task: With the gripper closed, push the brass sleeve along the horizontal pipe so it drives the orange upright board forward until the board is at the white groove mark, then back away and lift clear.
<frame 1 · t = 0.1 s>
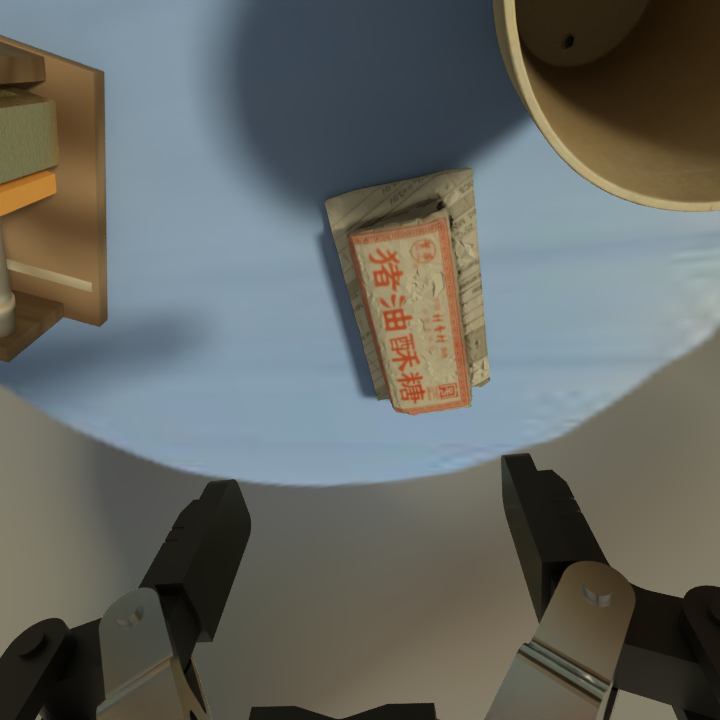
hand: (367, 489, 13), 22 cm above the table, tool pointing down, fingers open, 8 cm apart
pipe board: (39, 194, 31), on the table
packaged product: (415, 295, 35), on the table
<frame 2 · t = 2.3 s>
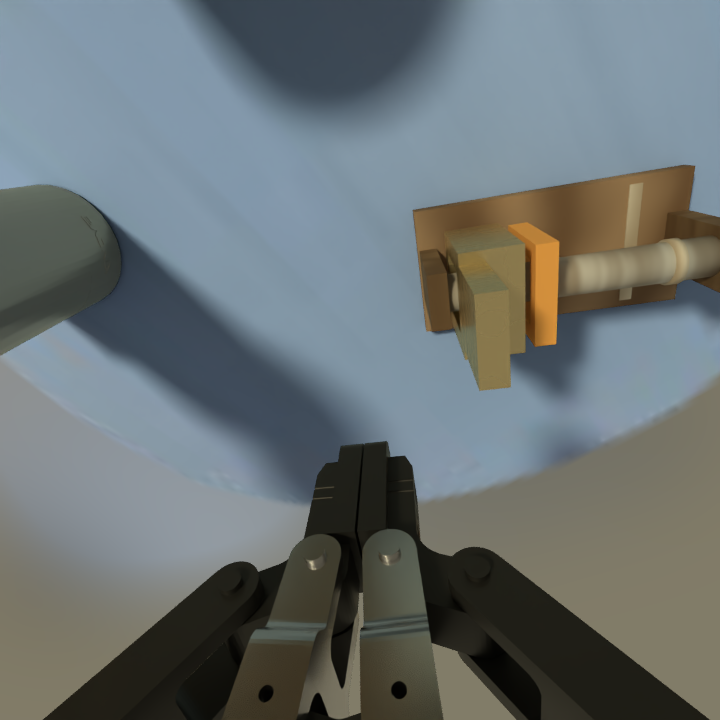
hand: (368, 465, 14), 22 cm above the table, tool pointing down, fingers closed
orange upright board: (530, 281, 27), point 6 cm above the table, slide at 0.0 cm
pipe board: (542, 253, 32), on the table
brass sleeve: (490, 300, 25), point 8 cm above the table, slide at 0.0 cm
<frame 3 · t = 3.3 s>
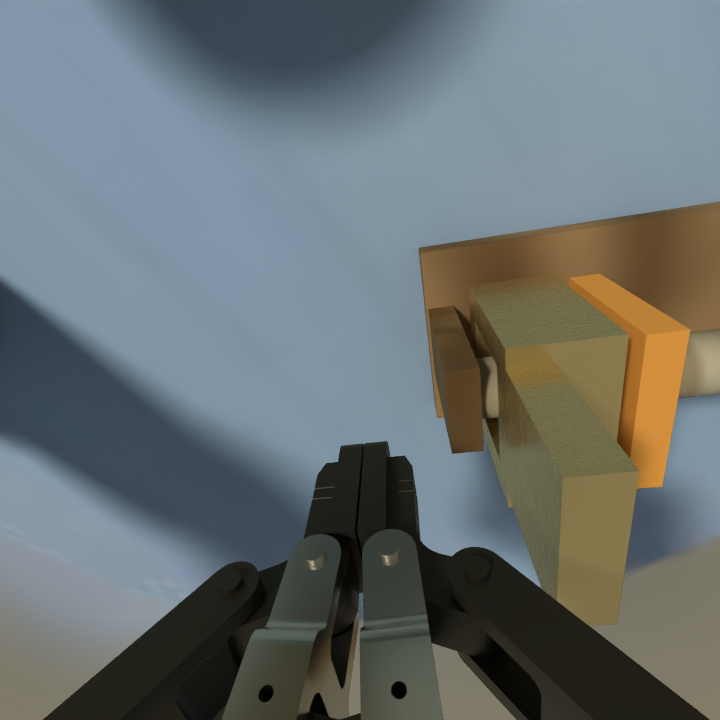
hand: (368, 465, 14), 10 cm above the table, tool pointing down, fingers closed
orange upright board: (611, 373, 17), point 6 cm above the table, slide at 0.0 cm
pipe board: (608, 310, 22), on the table
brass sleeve: (553, 416, 15), point 8 cm above the table, slide at 0.0 cm
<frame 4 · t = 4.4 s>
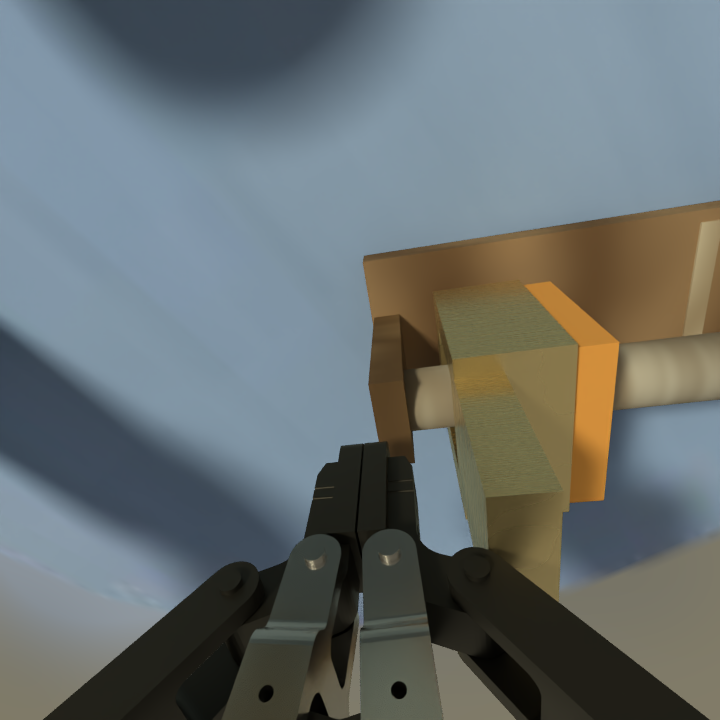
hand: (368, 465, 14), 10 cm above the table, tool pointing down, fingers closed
orange upright board: (558, 383, 16), point 6 cm above the table, slide at 0.5 cm, touching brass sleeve
pipe board: (559, 318, 22), on the table
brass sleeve: (509, 427, 15), point 8 cm above the table, slide at 1.1 cm, touching gripper, orange upright board
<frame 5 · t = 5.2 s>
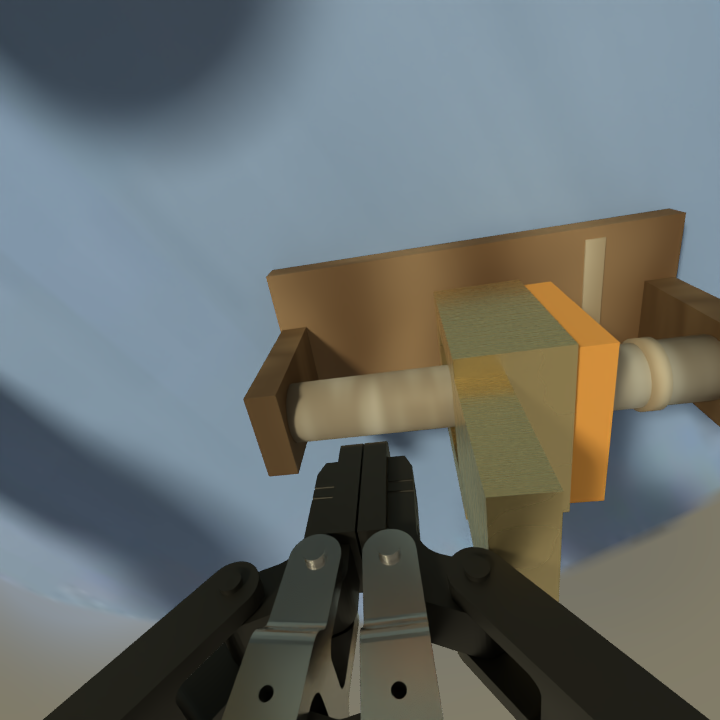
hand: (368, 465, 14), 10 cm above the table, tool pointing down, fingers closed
orange upright board: (558, 383, 16), point 6 cm above the table, slide at 5.0 cm, touching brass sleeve
pipe board: (465, 330, 22), on the table
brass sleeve: (509, 427, 15), point 8 cm above the table, slide at 5.6 cm, touching gripper, orange upright board
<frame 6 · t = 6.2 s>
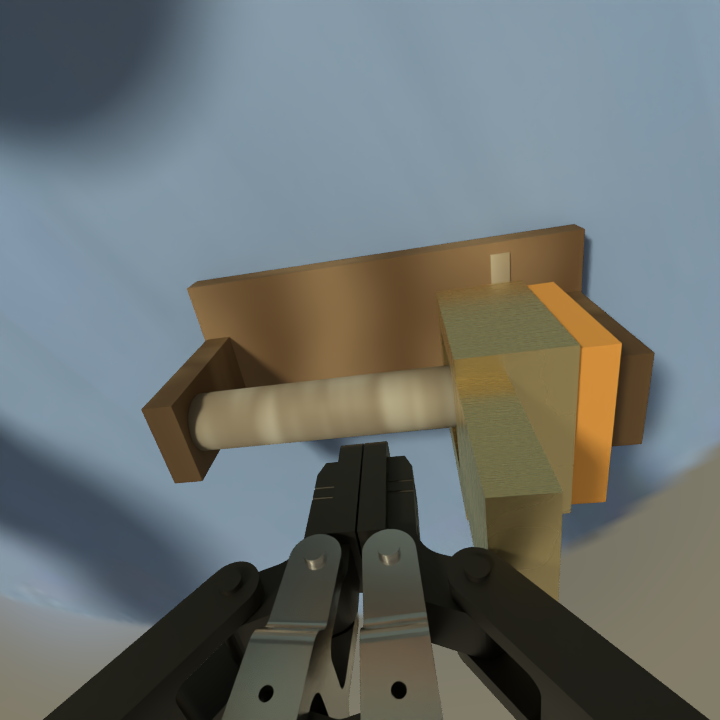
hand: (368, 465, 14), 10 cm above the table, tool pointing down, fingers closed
orange upright board: (560, 384, 16), point 6 cm above the table, slide at 9.1 cm, touching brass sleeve
pipe board: (387, 340, 23), on the table
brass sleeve: (511, 427, 15), point 8 cm above the table, slide at 9.7 cm, touching gripper, orange upright board
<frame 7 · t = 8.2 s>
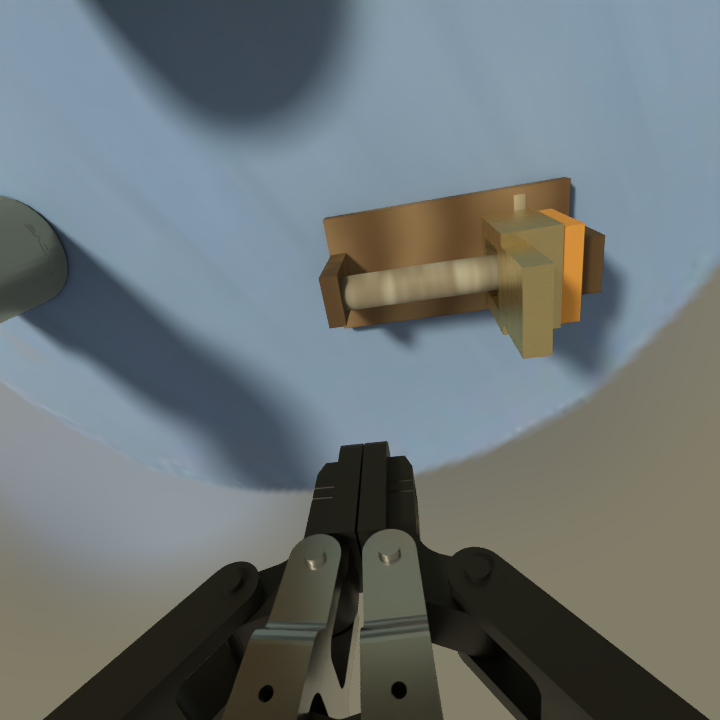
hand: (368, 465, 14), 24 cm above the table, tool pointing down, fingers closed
orange upright board: (555, 263, 29), point 6 cm above the table, slide at 9.1 cm
pipe board: (445, 256, 35), on the table
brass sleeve: (528, 279, 27), point 8 cm above the table, slide at 9.7 cm
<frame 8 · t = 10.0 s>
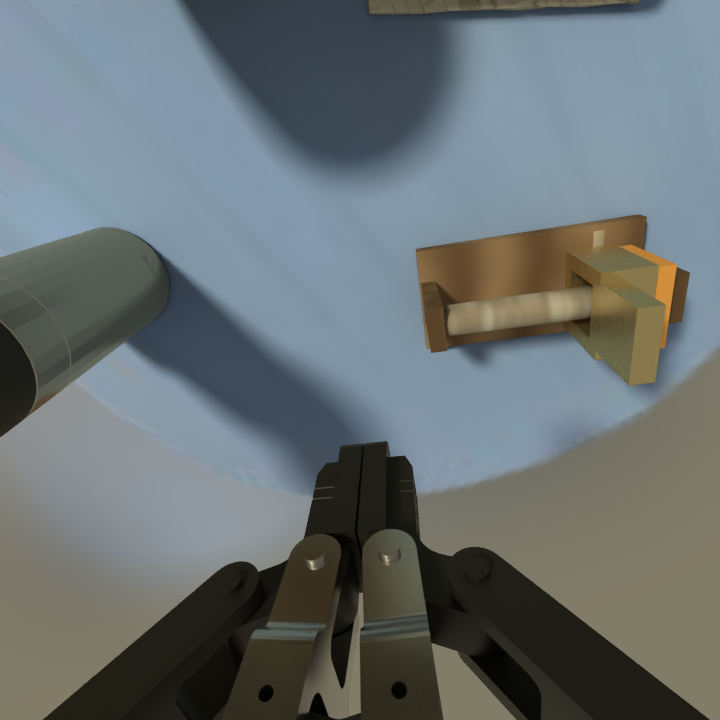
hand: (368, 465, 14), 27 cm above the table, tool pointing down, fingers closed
orange upright board: (638, 295, 32), point 6 cm above the table, slide at 9.1 cm
pipe board: (523, 284, 38), on the table
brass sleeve: (619, 311, 30), point 8 cm above the table, slide at 9.7 cm
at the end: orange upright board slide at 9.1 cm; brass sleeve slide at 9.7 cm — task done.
